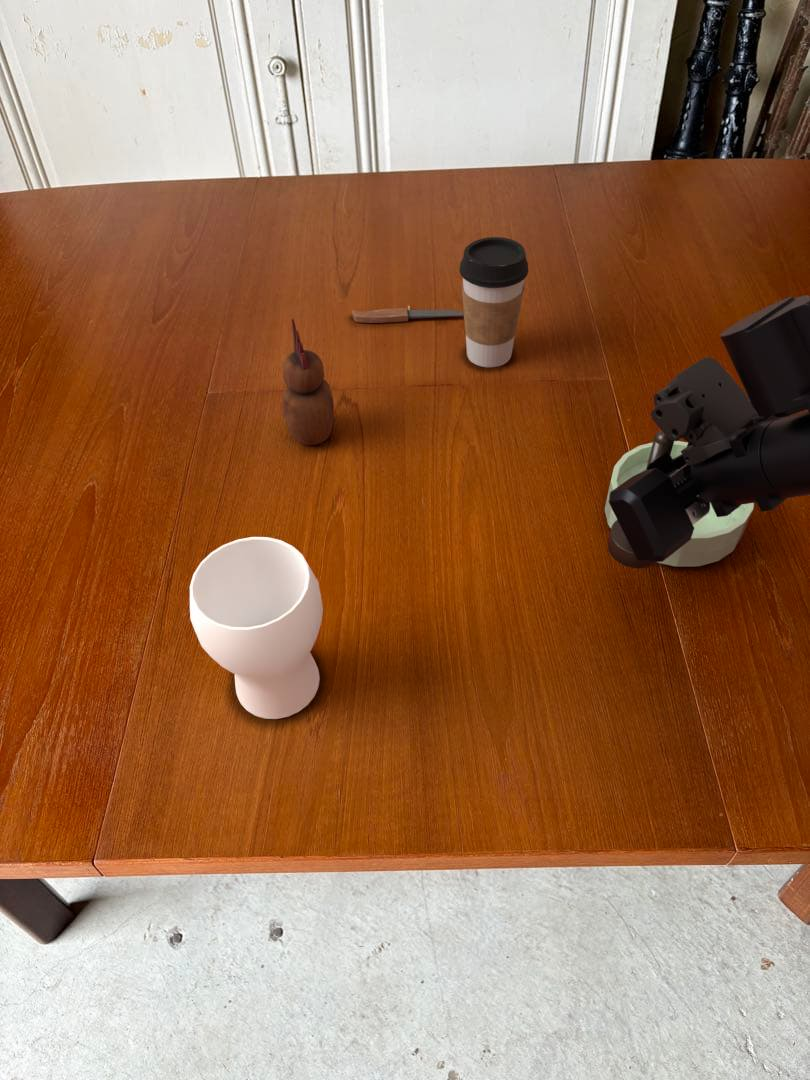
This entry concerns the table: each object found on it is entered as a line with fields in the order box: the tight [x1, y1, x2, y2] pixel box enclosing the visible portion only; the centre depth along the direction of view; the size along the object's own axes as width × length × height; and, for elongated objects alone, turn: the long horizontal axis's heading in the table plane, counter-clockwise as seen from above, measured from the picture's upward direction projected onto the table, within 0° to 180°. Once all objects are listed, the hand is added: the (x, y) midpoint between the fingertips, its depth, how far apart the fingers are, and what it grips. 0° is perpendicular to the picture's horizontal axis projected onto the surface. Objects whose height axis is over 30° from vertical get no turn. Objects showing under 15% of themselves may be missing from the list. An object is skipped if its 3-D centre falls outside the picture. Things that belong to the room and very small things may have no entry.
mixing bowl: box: [604, 440, 755, 568], centre depth 86 cm, size 14×14×5 cm
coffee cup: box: [459, 236, 529, 368], centre depth 103 cm, size 8×8×15 cm
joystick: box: [607, 429, 674, 569], centre depth 71 cm, size 5×5×14 cm
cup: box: [189, 536, 324, 720], centre depth 70 cm, size 11×11×15 cm
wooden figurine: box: [282, 318, 335, 446], centre depth 93 cm, size 7×6×15 cm
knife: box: [351, 305, 464, 324], centre depth 114 cm, size 17×1×3 cm
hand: (636, 486), depth 72 cm, fingers closed on joystick
